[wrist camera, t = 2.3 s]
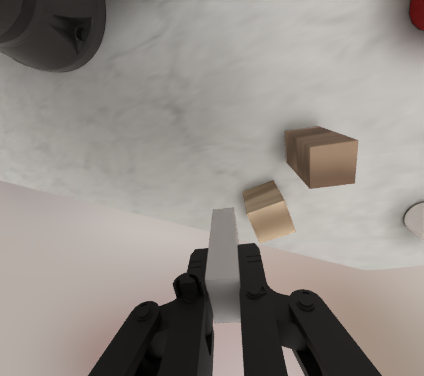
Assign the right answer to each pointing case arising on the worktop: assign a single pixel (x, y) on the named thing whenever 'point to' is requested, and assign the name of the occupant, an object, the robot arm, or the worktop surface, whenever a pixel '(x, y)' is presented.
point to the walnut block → (321, 156)
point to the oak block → (267, 212)
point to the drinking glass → (416, 220)
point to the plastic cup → (417, 13)
